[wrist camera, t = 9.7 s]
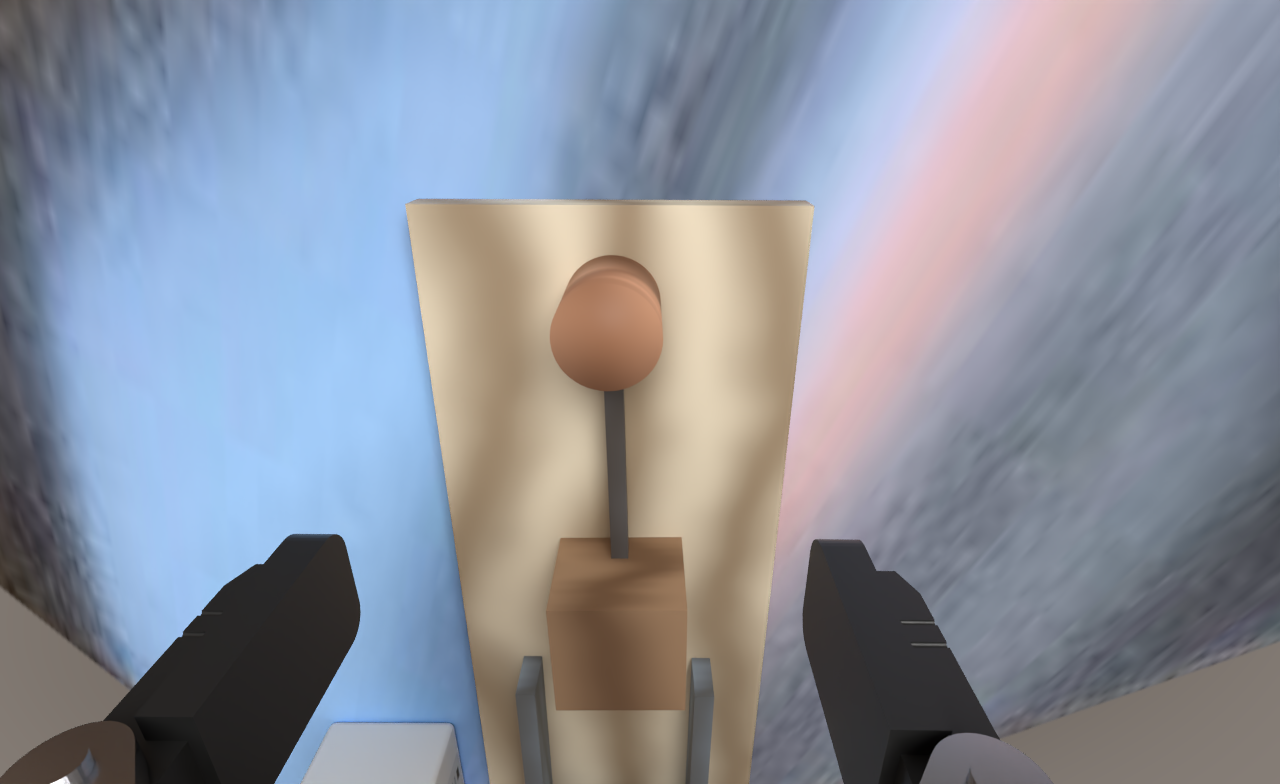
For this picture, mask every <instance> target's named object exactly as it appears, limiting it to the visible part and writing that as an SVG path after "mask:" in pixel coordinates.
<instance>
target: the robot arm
mask: <svg viewBox="0 0 1280 784" xmlns="http://www.w3.org/2000/svg"><path fill="white" fill-rule="evenodd" d="M359 622H360V602H359V598H358V594H357V590H356V586H355V582H354V577H353V573H352V569H351V565H350V561H349V557H348V553H347V549H346V545H345V542H344V540H343V538H342V537H341V536H339V535H337V534H292V535H290V536H288V537H287V538H286V539H285V540H284V541H283V542H282V543H281V544H280V545H279V547H278V548H277V549H276V550H275V551H274V552H273V554H272V555H271V556H270V557H269V558H268V560H267V561H266V562H265V563H264V564H255V565H254V566H252V567H251V568H250V569H248V570H247V571H245V572H244V573H242V574H241V575H239V576H238V577H236V578H235V579H233V580H232V581H230V582H229V583H227V584H226V585H224V587H223V588H222V589H221V590H220V591H219V592H218V593H217V594H216V595H215V597H214V598H213V599H212V600H211V601H210V602H209V603H208V604H207V606H206V607H205V608H204V609H203V610H202V614H201V616H197V617H196V618H195V619H194V620H193V621H192V622H191V623H190V624H189V626H188V627H187V628H186V629H185V630H184V631H183V636H182V637H178V638H177V639H176V640H175V641H174V642H173V643H172V645H171V646H170V647H169V648H168V649H167V650H166V651H165V652H164V654H163V655H162V656H161V657H160V658H159V659H158V660H157V661H156V662H155V664H154V665H153V666H152V667H151V668H150V669H149V670H148V671H147V673H146V674H145V675H144V676H143V677H142V678H141V679H140V680H139V681H138V683H137V684H136V685H135V686H134V687H133V688H132V689H131V690H130V692H129V693H128V694H127V695H126V696H125V697H124V698H123V699H122V700H121V702H120V703H119V704H118V705H117V706H116V707H115V708H114V709H113V711H112V712H111V713H110V714H109V715H108V716H107V717H106V718H105V719H104V720H103V721H98V722H92V723H88V724H84V725H80V726H77V727H75V728H72V729H69V730H67V731H64V732H62V733H60V734H58V735H56V736H54V737H52V738H50V739H49V740H47V741H45V742H43V743H41V744H40V745H38V746H37V747H35V748H34V749H32V750H31V751H29V752H28V753H27V754H25V755H24V756H23V757H21V758H20V759H19V760H18V761H17V762H15V763H14V764H13V765H12V766H11V767H10V768H9V769H8V770H7V771H6V772H5V773H4V774H3V775H2V776H1V777H0V784H274V783H275V781H276V779H277V778H278V776H279V774H280V772H281V770H282V769H283V767H284V765H285V763H286V762H287V760H288V758H289V756H290V754H291V753H292V751H293V749H294V747H295V745H296V744H297V742H298V740H299V738H300V737H301V735H302V733H303V731H304V729H305V728H306V726H307V724H308V722H309V720H310V719H311V717H312V715H313V713H314V712H315V710H316V708H317V706H318V704H319V703H320V701H321V699H322V697H323V696H324V694H325V692H326V690H327V688H328V687H329V685H330V683H331V681H332V679H333V678H334V676H335V674H336V672H337V671H338V669H339V667H340V665H341V663H342V662H343V660H344V658H345V656H346V654H347V653H348V651H349V649H350V647H351V646H352V644H353V642H354V640H355V637H356V635H357V631H358V627H359ZM803 633H804V641H805V646H806V650H807V654H808V657H809V661H810V664H811V668H812V672H813V675H814V679H815V682H816V686H817V689H818V693H819V697H820V700H821V704H822V707H823V711H824V714H825V718H826V722H827V725H828V729H829V732H830V736H831V740H832V743H833V747H834V750H835V754H836V757H837V761H838V765H839V768H840V772H841V775H842V779H843V782H844V784H1053V783H1052V781H1051V780H1050V778H1049V777H1048V776H1047V775H1046V773H1045V772H1044V771H1043V770H1042V769H1041V768H1040V767H1039V766H1038V765H1037V764H1036V763H1035V762H1034V761H1032V760H1031V759H1030V758H1029V757H1028V756H1026V755H1025V754H1024V753H1022V752H1021V751H1019V750H1018V749H1016V748H1014V747H1013V746H1011V745H1009V744H1007V743H1005V742H1003V741H1001V740H1000V739H999V737H998V736H997V734H996V732H995V730H994V729H993V727H992V725H991V723H990V721H989V719H988V717H987V716H986V714H985V712H984V710H983V708H982V706H981V705H980V703H979V701H978V699H977V697H976V695H975V694H974V692H973V690H972V688H971V686H970V684H969V683H968V681H967V679H966V677H965V675H964V673H963V672H962V670H961V668H960V666H959V664H958V662H957V661H956V659H955V657H954V655H953V653H952V651H951V650H950V648H947V645H946V640H945V639H944V637H943V635H942V633H941V631H940V629H939V627H938V626H937V625H935V623H934V618H933V616H932V615H931V613H930V611H929V609H928V607H927V605H926V604H925V602H924V600H923V598H922V596H921V594H920V593H919V592H918V591H916V590H915V589H914V588H913V587H912V586H911V585H910V584H909V583H908V582H906V581H905V580H904V579H903V578H902V577H901V576H900V575H899V574H898V573H896V572H895V571H876V569H875V567H874V565H873V563H872V561H871V558H870V556H869V554H868V552H867V550H866V548H865V546H864V544H863V543H862V541H860V540H829V539H815V540H814V541H813V543H812V546H811V551H810V559H809V567H808V574H807V582H806V590H805V597H804V605H803Z"/></svg>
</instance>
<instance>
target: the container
mask: <svg viewBox="0 0 1280 784" xmlns="http://www.w3.org/2000/svg"><path fill="white" fill-rule="evenodd" d="M301 784H464V778H463V773H462V768H461V762H460V757H459V752H458V746H457V741H456V735H455V730H454V726H453V725H452V724H451V723H368V722H337V723H333V724H332V725H331V726H330V727H329V729H328V731H327V733H326V735H325V737H324V739H323V741H322V743H321V745H320V746H319V748H318V750H317V752H316V754H315V756H314V758H313V760H312V762H311V764H310V766H309V768H308V770H307V772H306V774H305V776H304V778H303V780H302V782H301Z"/></svg>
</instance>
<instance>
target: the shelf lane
mask: <svg viewBox="0 0 1280 784" xmlns="http://www.w3.org/2000/svg"><path fill="white" fill-rule="evenodd" d="M405 205H406V212H407V219H408V226H409V233H410V239H411V246H412V253H413V260H414V267H415V274H416V280H417V287H418V294H419V301H420V308H421V315H422V322H423V328H424V335H425V342H426V349H427V356H428V363H429V369H430V376H431V383H432V390H433V397H434V404H435V411H436V417H437V424H438V431H439V438H440V445H441V452H442V458H443V465H444V472H445V479H446V486H447V493H448V499H449V506H450V513H451V520H452V527H453V534H454V541H455V547H456V554H457V561H458V568H459V575H460V582H461V588H462V595H463V602H464V609H465V616H466V623H467V630H468V636H469V643H470V650H471V657H472V664H473V671H474V677H475V684H476V691H477V698H478V705H479V712H480V719H481V725H482V732H483V739H484V746H485V753H486V760H487V766H488V773H489V780H490V784H749V778H750V769H751V760H752V752H753V743H754V734H755V725H756V716H757V707H758V699H759V690H760V681H761V672H762V663H763V654H764V646H765V637H766V628H767V619H768V610H769V601H770V593H771V584H772V575H773V566H774V557H775V548H776V540H777V531H778V522H779V513H780V504H781V495H782V487H783V478H784V469H785V460H786V451H787V442H788V434H789V425H790V416H791V407H792V398H793V389H794V381H795V372H796V363H797V354H798V345H799V336H800V328H801V319H802V310H803V301H804V292H805V283H806V275H807V266H808V257H809V248H810V239H811V230H812V222H813V213H814V206H813V205H812V204H810V203H809V202H807V201H777V200H548V199H417V200H414V201H412V202H409V203H407V204H405ZM606 255H618V256H624V257H627V258H630V259H632V260H634V261H636V262H638V263H639V264H641V265H642V266H643V267H645V268H646V269H647V270H648V271H649V272H650V274H651V275H652V276H653V278H654V279H655V281H656V283H657V286H658V288H659V292H660V298H661V313H662V328H663V347H662V352H661V355H660V358H659V360H658V362H657V364H656V366H655V367H654V369H653V370H652V371H651V372H650V373H649V375H648V376H647V377H645V378H644V379H643V380H642V381H640V382H639V383H637V384H635V385H633V386H631V387H629V388H626V389H624V405H625V439H626V473H627V508H628V537H682V548H683V561H684V574H685V587H686V599H687V656H686V708H685V710H576V711H556V706H555V696H554V687H553V677H552V667H551V657H550V647H549V637H548V627H547V617H546V608H547V603H548V598H549V593H550V588H551V583H552V578H553V573H554V568H555V563H556V558H557V553H558V549H559V544H560V539H561V538H610V518H609V495H608V472H607V449H606V426H605V403H604V391H599V390H593V389H590V388H587V387H585V386H582V385H580V384H578V383H577V382H575V381H574V380H572V379H571V378H570V377H568V376H567V375H566V374H565V373H564V372H563V370H562V369H561V368H560V367H559V365H558V363H557V362H556V360H555V358H554V356H553V353H552V350H551V345H550V327H551V323H552V319H553V317H554V315H555V313H556V310H557V308H558V306H559V303H560V301H561V299H562V297H563V294H564V292H565V290H566V288H567V285H568V283H569V281H570V279H571V277H572V276H573V274H574V273H575V272H576V271H577V269H579V268H580V267H581V266H582V265H583V264H585V263H586V262H588V261H590V260H592V259H594V258H597V257H600V256H606Z"/></svg>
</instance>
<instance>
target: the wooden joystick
mask: <svg viewBox="0 0 1280 784" xmlns="http://www.w3.org/2000/svg"><path fill="white" fill-rule="evenodd" d="M550 345H551V350H552V353H553V356H554V358H555V360H556V362H557V363H558V365H559V367H560V368H561V369H562V370H563V372H564V373H565V374H566V375H567V376H568V377H570V378H571V379H572V380H574V381H575V382H577V383H578V384H580V385H582V386H585V387H587V388H590V389H593V390H599V391H604V403H605V426H606V449H607V472H608V495H609V518H610V538H561V539H560V544H559V549H558V553H557V558H556V563H555V568H554V573H553V578H552V583H551V588H550V593H549V598H548V603H547V608H546V617H547V627H548V637H549V647H550V657H551V667H552V677H553V687H554V696H555V706H556V711H576V710H685V708H686V656H687V599H686V587H685V574H684V561H683V548H682V537H628V508H627V473H626V439H625V405H624V389H626V388H629V387H631V386H633V385H635V384H637V383H639V382H640V381H642V380H643V379H644V378H645V377H647V376H648V375H649V373H650V372H651V371H652V370H653V369H654V367H655V366H656V364H657V362H658V360H659V358H660V355H661V352H662V347H663V328H662V313H661V298H660V292H659V288H658V286H657V283H656V281H655V279H654V278H653V276H652V275H651V274H650V272H649V271H648V270H647V269H646V268H645V267H643V266H642V265H641V264H639V263H638V262H636V261H634V260H632V259H630V258H627V257H624V256H618V255H606V256H600V257H597V258H594V259H592V260H590V261H588V262H586V263H585V264H583V265H582V266H581V267H580V268H579V269H577V271H576V272H575V273H574V274H573V276H572V277H571V279H570V281H569V283H568V285H567V288H566V290H565V292H564V294H563V297H562V299H561V301H560V303H559V306H558V308H557V310H556V313H555V315H554V317H553V319H552V323H551V327H550Z"/></svg>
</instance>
